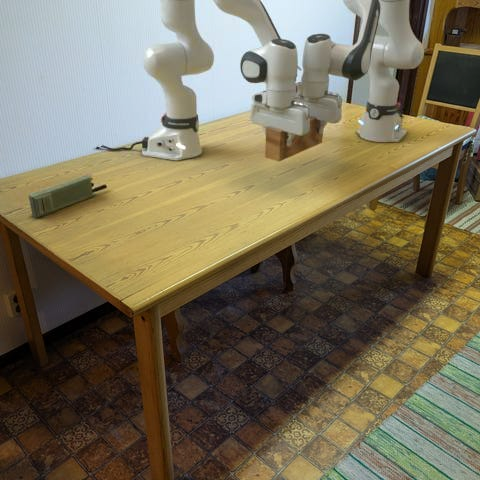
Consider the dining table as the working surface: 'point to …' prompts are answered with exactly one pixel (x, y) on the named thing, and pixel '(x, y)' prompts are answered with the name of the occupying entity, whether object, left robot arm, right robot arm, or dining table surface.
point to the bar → (299, 143)
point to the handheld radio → (62, 195)
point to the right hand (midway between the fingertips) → (311, 131)
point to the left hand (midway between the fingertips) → (278, 143)
